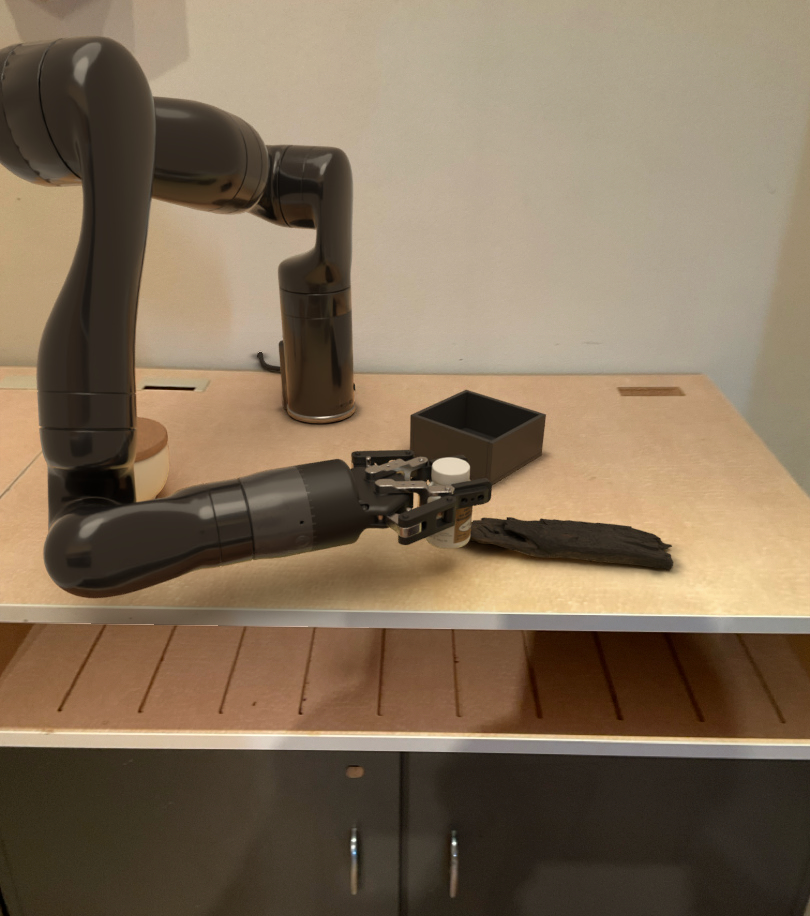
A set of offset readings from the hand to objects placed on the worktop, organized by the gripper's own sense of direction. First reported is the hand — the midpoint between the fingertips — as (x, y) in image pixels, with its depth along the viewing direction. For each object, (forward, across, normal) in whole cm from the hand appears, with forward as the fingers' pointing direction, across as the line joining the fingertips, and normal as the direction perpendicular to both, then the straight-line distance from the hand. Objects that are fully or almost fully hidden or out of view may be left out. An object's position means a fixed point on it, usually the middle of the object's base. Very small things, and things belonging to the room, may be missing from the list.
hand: (476, 477), depth 73 cm
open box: (+11, +22, +10) cm, 26 cm away
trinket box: (-30, +26, +10) cm, 41 cm away
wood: (+10, 0, +10) cm, 14 cm away
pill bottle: (-3, 0, +6) cm, 7 cm away
